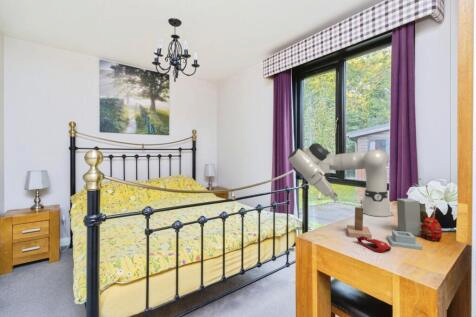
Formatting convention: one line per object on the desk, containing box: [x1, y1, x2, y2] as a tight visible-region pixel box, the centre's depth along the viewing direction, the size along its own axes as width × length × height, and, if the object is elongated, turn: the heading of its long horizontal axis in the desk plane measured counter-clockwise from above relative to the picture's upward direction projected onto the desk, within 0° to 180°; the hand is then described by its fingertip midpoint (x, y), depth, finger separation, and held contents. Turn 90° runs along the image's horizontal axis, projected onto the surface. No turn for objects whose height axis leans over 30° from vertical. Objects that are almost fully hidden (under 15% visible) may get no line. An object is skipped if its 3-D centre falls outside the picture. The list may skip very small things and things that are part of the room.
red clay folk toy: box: [420, 204, 443, 242], centre depth 105 cm, size 8×7×15 cm
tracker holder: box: [355, 235, 392, 253], centre depth 95 cm, size 12×4×10 cm
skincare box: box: [396, 198, 422, 237], centre depth 113 cm, size 8×7×16 cm
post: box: [354, 206, 364, 231], centre depth 111 cm, size 3×3×10 cm
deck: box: [346, 224, 373, 240], centre depth 111 cm, size 12×9×2 cm
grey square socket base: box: [386, 229, 423, 251], centre depth 100 cm, size 10×10×4 cm
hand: (336, 198), depth 114 cm, fingers open, 8 cm apart
